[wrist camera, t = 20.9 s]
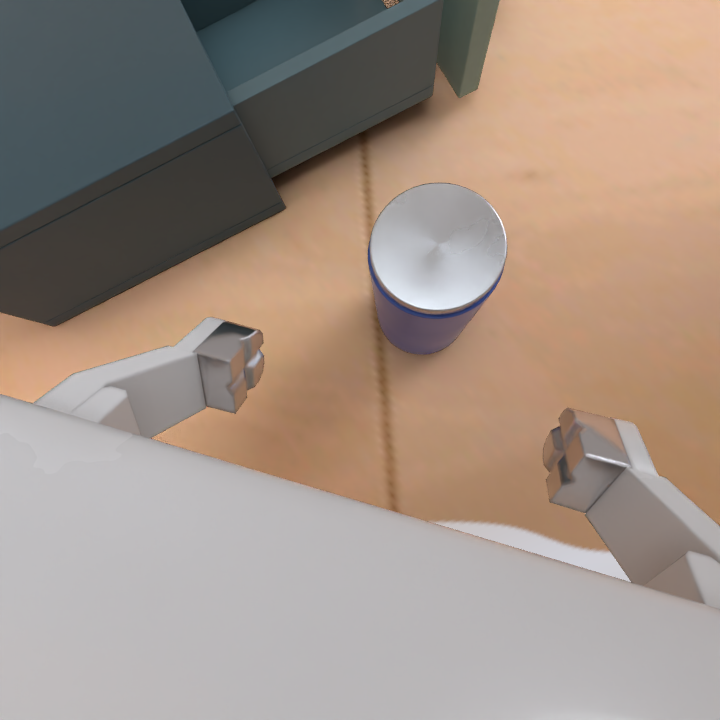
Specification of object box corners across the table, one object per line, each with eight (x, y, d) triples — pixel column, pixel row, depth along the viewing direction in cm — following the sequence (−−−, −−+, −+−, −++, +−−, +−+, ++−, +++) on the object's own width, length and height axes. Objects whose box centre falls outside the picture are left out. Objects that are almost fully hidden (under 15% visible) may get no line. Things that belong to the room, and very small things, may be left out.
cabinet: (201, 37, 25) (119, -121, 18) (286, 208, 23) (234, 109, 16) (-10, 147, 26) (-177, 36, 18) (54, 327, 23) (-106, 285, 16)
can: (439, 255, 22) (466, 155, 14) (481, 329, 21) (538, 273, 13) (363, 293, 22) (343, 218, 14) (402, 369, 21) (406, 339, 13)
